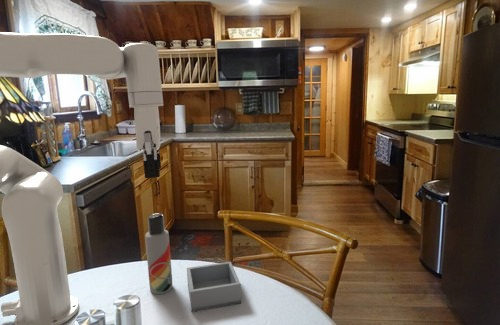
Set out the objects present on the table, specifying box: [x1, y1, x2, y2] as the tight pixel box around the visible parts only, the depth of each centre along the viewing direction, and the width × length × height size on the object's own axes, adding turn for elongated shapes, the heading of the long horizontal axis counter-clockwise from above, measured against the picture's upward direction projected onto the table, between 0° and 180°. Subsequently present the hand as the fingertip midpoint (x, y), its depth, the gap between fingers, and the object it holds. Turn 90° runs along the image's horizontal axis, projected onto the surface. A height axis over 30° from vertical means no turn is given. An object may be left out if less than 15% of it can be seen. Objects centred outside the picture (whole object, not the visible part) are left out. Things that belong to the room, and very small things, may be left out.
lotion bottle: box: [144, 212, 173, 295], centre depth 84 cm, size 6×6×20 cm
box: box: [186, 261, 242, 313], centre depth 83 cm, size 12×12×5 cm
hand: (153, 173), depth 80 cm, fingers open, 9 cm apart
